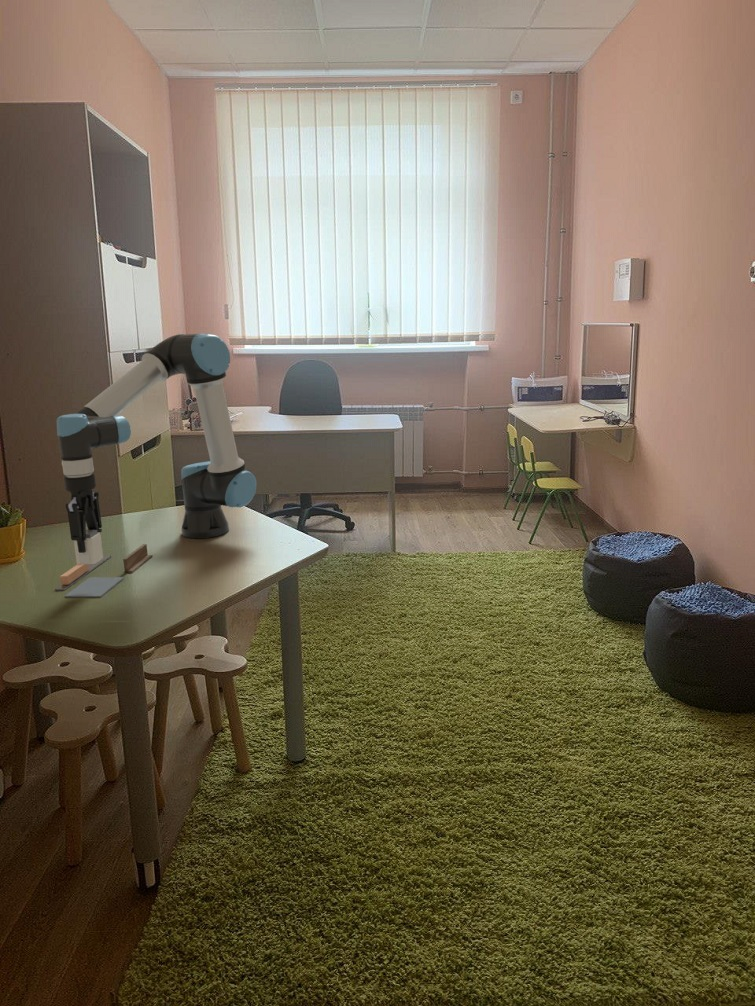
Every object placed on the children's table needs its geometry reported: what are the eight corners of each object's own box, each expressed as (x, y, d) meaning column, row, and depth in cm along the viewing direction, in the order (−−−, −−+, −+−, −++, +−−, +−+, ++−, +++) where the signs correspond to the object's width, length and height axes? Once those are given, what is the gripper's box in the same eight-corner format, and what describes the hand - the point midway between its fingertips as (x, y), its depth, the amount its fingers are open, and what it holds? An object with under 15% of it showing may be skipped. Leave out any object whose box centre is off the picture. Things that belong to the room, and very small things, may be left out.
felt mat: (123, 578, 220) (123, 577, 220) (100, 597, 207) (100, 595, 207) (89, 578, 221) (89, 577, 221) (64, 597, 208) (64, 595, 208)
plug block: (103, 557, 214) (99, 529, 212) (94, 564, 209) (90, 534, 207) (85, 557, 215) (82, 529, 213) (76, 563, 210) (72, 534, 208)
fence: (152, 556, 238) (150, 544, 237) (132, 572, 225) (131, 559, 224) (144, 556, 239) (143, 544, 238) (124, 572, 225) (123, 559, 224)
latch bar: (89, 569, 227) (87, 557, 226) (68, 584, 216) (66, 571, 215) (82, 569, 228) (80, 557, 227) (61, 584, 216) (59, 571, 215)
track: (111, 556, 240) (111, 555, 240) (64, 590, 213) (64, 588, 213) (102, 557, 240) (102, 555, 240) (55, 590, 214) (54, 588, 213)
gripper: (82, 467, 215) (93, 549, 221) (47, 482, 198) (60, 571, 204) (108, 467, 214) (118, 549, 220) (75, 482, 197) (88, 571, 203)
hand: (90, 559), depth 212 cm, fingers closed on plug block, 5 cm apart
